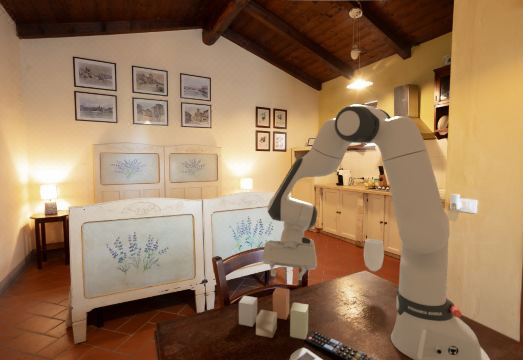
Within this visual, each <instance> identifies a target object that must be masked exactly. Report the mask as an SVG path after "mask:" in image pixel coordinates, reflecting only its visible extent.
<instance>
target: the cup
mask: <svg viewBox="0 0 523 360" xmlns="http://www.w3.org/2000/svg"><path fill="white" fill-rule="evenodd" d="M384 258H385V247H384V242H383V241H382V240H381V239H377V238H366V239H365V241H364V246H363V260H364V261H363V262H364V265H365V267H366V268H368V270H369V271H371V272H377V271H378V270H380V269H381V268H382V266H383V262H384Z"/></svg>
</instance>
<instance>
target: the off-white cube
mask: <svg viewBox="0 0 523 360" xmlns="http://www.w3.org/2000/svg"><path fill="white" fill-rule="evenodd" d="M277 329H278V318H277V312H273V310H272V311H271V310H266V309H260V311H259V313H257V317H256V322H255V335H257V336H261V337H266V338H270V339H271V338H273V337H274V336H275V333H276V330H277Z"/></svg>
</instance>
